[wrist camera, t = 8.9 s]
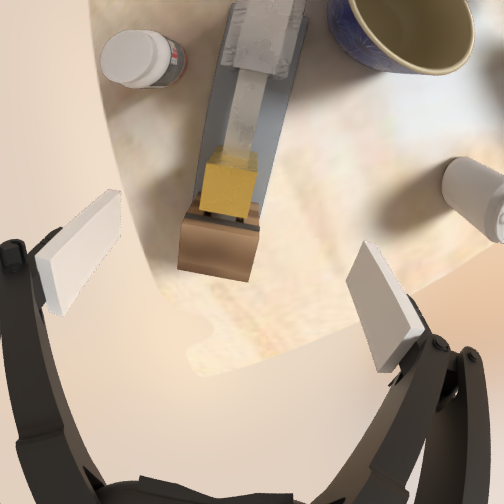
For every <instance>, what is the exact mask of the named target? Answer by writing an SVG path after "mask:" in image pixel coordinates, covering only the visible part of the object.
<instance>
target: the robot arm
mask: <svg viewBox="0 0 504 504" xmlns="http://www.w3.org/2000/svg"><path fill="white" fill-rule="evenodd" d="M120 223H121V191H117V190H111V189H108V190H107V191H106V192H104V193H103V194H102V195H101V196H99V197H98V198H97V199H96V200H95V201H93V202H92V203H91V204H90V205H89V206H88V207H87V208H85V209H84V210H83V211H82V212H81V213H79V214H78V215H77V216H76V217H75V218H74V219H73V220H72V221H70V222H69V223H68V224H67V225H66V226H65V227H64V228H62V227H59V228H58V229H55V230H53V231H51V232H50V233H49V234H48V235H47V236H46V237H45V239H43V240H42V241H41V242H40V243H39V244H37V245H36V246H35V247H34V248H33V249H32V250H31V251H30V252H29V253H28V254H27V251H26V247H25V243H24V241H22V240H19V239H11V240H8V241H5V242H3V243H2V244H1V245H0V338H1V337H2V348H3V358H4V366H5V373H6V379H7V385H8V391H9V396H10V400H11V405H12V410H13V415H14V418H15V423H16V426H17V430H18V434H19V439H18V440H17V441H16V451H17V455H18V458H19V461H20V464H21V467H22V469H23V472H24V475H25V478H26V480H27V483H28V486H29V488H30V490H31V492H32V495H33V498H34V500H35V502H36V504H305V503H303V502H300V501H297V500H293V493H289V494H288V493H285V494H276V493H275V494H274V493H270V494H269V493H254V494H249V495H243V496H236V497H228V498H213V497H210V496H207V495H204V494H202V493H199V492H196V491H193V490H191V489H189V488H186V487H184V486H182V485H179V484H176V483H170V482H166V481H161V480H157V479H153V478H149V477H144V476H140V477H139V481H123V482H117V483H113V484H110V485H106V483H105V481H104V479H103V478H102V476H101V474H100V472H99V471H98V469H97V468H96V466H95V464H94V463H93V461H92V460H91V458H90V456H89V454H88V452H87V449H86V447H85V446H84V443H83V441H82V438H81V436H80V434H79V431H78V429H77V427H76V424H75V422H74V419H73V417H72V414H71V411H70V409H69V406H68V403H67V400H66V398H65V395H64V392H63V389H62V386H61V382H60V379H59V376H58V373H57V369H56V366H55V362H54V359H53V355H52V351H51V347H50V343H49V339H48V334H47V330H46V325H45V321H44V315H43V312H42V308H41V307H42V306H43V304H44V303H45V302H46V303H47V307H48V310H49V312H50V313H53V314H56V315H59V316H62V317H64V315H65V314H66V312H67V311H68V309H69V308H70V306H71V305H72V303H73V302H74V300H75V299H76V297H77V295H78V294H79V293H80V291H81V290H82V288H83V287H84V285H85V284H86V283H87V281H88V280H89V278H90V277H91V276H92V274H93V273H94V271H95V270H96V269H97V267H98V265H100V263H101V262H102V260H103V259H104V257H105V256H106V255H107V254H108V252H109V251H110V250H111V249H112V247H113V246H114V245H115V243H116V242H117V241H118V239H119V238H120V237H121V230H120V229H121V224H120ZM346 283H347V286H348V288H349V291H350V294H351V296H352V299H353V302H354V305H355V307H356V310H357V313H358V316H359V318H360V321H361V324H362V327H363V330H364V333H365V336H366V339H367V342H368V345H369V348H370V351H371V354H372V357H373V360H374V363H375V366H376V370H377V372H378V373H379V372H380V373H391V372H392V371H393V370H394V369H395V368H396V366H397V365H398V364H399V366H400V369H401V371H400V372H399V374H398V375H397V376H396V377H395V378H394V379H393V381H392V382H391V383H390V384H389V385H388V386H389V387H390V386H391V385H392V386H391V388H390V390H389V392H388V394H387V396H386V398H385V399H384V401H383V403H382V405H381V407H380V409H379V410H378V412H377V414H376V416H375V417H374V419H373V421H372V423H371V424H370V426H369V428H368V429H367V431H366V432H365V434H364V436H363V437H362V439H361V441H360V442H359V444H358V445H357V447H356V448H355V450H354V451H353V453H352V454H351V456H350V457H349V459H348V460H347V462H346V463H345V465H344V466H343V467H342V469H341V470H340V472H339V473H338V474H337V476H336V477H335V478H334V480H333V481H332V482H331V484H330V485H329V486H328V488H327V489H326V490H325V491H324V492H323V493H322V494H320V495H319V496H318V497H317V498H316V499H315V500H314V501H312V502H311V504H406V503H407V501H408V498H409V492H408V491H407V490H406V489H405V485H406V483H407V481H408V479H409V476H410V474H411V472H412V470H413V468H414V466H415V463H416V461H417V459H418V456H419V454H420V451H421V449H422V446H423V444H424V441H425V439H426V443H425V450H424V456H423V463H422V468H421V473H420V479H419V484H418V488H417V493H416V497H415V501H414V504H488V496H489V485H490V463H491V443H490V441H491V440H490V419H489V407H488V397H487V389H486V381H485V375H484V368H483V362H482V359H481V357H480V355H479V353H478V352H477V351H476V350H475V349H473V348H471V347H468V346H467V347H464V348H463V350H462V351H461V352H460V353H456V352H454V351H451V350H450V347H449V344H448V343H447V342H446V340H444V339H443V338H442V337H441V336H438V335H436V334H432V332H431V330H430V328H429V327H428V325H427V323H426V321H425V319H424V317H423V316H422V314H421V312H420V310H419V309H418V306H417V305H416V303H415V301H414V300H413V299H412V298H411V297H410V296H409V295H408V294H406V293H405V291H404V289H403V288H402V286H401V284H400V283H399V281H398V279H397V278H396V276H395V274H394V272H393V271H392V269H391V268H390V266H389V264H388V263H387V261H386V259H385V258H384V256H383V255H382V253H381V251H380V250H379V248H378V247H377V245H376V244H375V243H371V242H367V241H363V244H362V246H361V248H360V250H359V253H358V255H357V257H356V259H355V262H354V264H353V266H352V268H351V270H350V273H349V275H348V277H347V279H346ZM457 391H458V393H457V395H456V397H455V393H456V392H457Z"/></svg>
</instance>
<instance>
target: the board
mask: <svg viewBox="0 0 504 504" xmlns="http://www.w3.org/2000/svg"><path fill="white" fill-rule="evenodd" d="M234 8H235V3H232V6H231V10H230V14H229V17H228V21H227V25H226V29H225V33H224V37H223V41H222V45H221V50H220V54H219V58H218V63H217V67H216V72H215V76H214V81H213V86H212V90H211V95H210V100H209V105H208V110H207V116H206V121H205V126H204V132H203V138H202V143H201V149H200V155H199V162H198V168H197V174H196V181H195V188H194V195H193V201H194V199H195V197H196V195H197V193H198V192H202V187H203V181H204V175H205V168H206V163H207V161H208V160H209V159H210V157H211V156H212V154H213V153H214V151H215V150H216V148H217V147H218V145H222V146H224V142H225V136H226V131H227V127H228V122H229V117H230V112H231V107H232V103H233V98H234V93H235V89H236V84H237V80H238V75H239V73H238V72H232V71H228V70H227V69H225V68H224V67H223V66H222V65H220V64H221V60H222V55H223V51H224V47H225V43H226V39H227V35H228V31H229V27H230V23H231V19H232V15H233V11H234ZM308 20H309V18H305V17H302V20H301V24H300V28H299V32H298V36H297V40H296V44H295V48H294V52H293V56H292V61H291V65H290V69H289V73H288V77H287V78H285V79H283V80H281V81H278V80H274V79H269V78H267V81H266V85H265V89H264V94H263V98H262V102H261V107H260V111H259V115H258V120H257V124H256V128H255V133H254V137H253V142H252V146H251V151H253V152H257V171H258V173H257V177H256V182H255V186H254V190H253V195H252V199H251V202H255V203H259V218H260V214H261V210H262V206H263V202H264V198H265V194H266V190H267V186H268V182H269V178H270V174H271V170H272V166H273V162H274V157H275V153H276V149H277V145H278V141H279V137H280V133H281V129H282V125H283V121H284V117H285V113H286V109H287V105H288V101H289V97H290V93H291V89H292V85H293V81H294V77H295V72H296V68H297V64H298V60H299V56H300V52H301V48H302V44H303V40H304V36H305V32H306V28H307V24H308ZM192 203H193V202H192Z"/></svg>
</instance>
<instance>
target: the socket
mask: <svg viewBox="0 0 504 504" xmlns="http://www.w3.org/2000/svg"><path fill="white" fill-rule="evenodd" d="M201 193H202V192H198V193H197V195H196V197H195V199H194V201H193V203H192V204H191V206H190V208H189V210H188V212H186V214H185V218H184V220H183V222H182V224H181V234H180V244H179V255H178V266H177V269H179V270H184V271H189V272H194V273H199V274H204V275H210V276H215V277H220V278H226V279H231V280H237V281H242V282H248V281H249V277H250V273H251V269H252V265H253V261H254V257H255V253H256V249H257V245H258V241H259V231H260V226H259V203H255V202H251V203H250V208H249V212H248V217H247V219H245V218H240V217H236V221H230V220H225V219H220V218H215V217H211V214H212V212H209V211H203V210H199V207H200V200H201Z"/></svg>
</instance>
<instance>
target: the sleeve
mask: <svg viewBox="0 0 504 504" xmlns="http://www.w3.org/2000/svg"><path fill="white" fill-rule="evenodd" d="M305 4H306V0H236V4H235V8H234V11H233V15H232V19H231V23H230V27H229V31H228V35H227V39H226V43H225V47H224V51H223V55H222V60H221V64H220V65H222V66H223V67H224V68H225V69H227V70H228V71H232V72H238V73H239V71H240V69H246V70H251V71H256V72H261V73H266V74H268V77H267V78H269V79H274V80H278V81H281V80H283V79H285V78H287V77H288V73H289V69H290V65H291V61H292V56H293V52H294V48H295V44H296V40H297V36H298V32H299V28H300V24H301V20H302V16H303V12H304V8H305Z"/></svg>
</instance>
